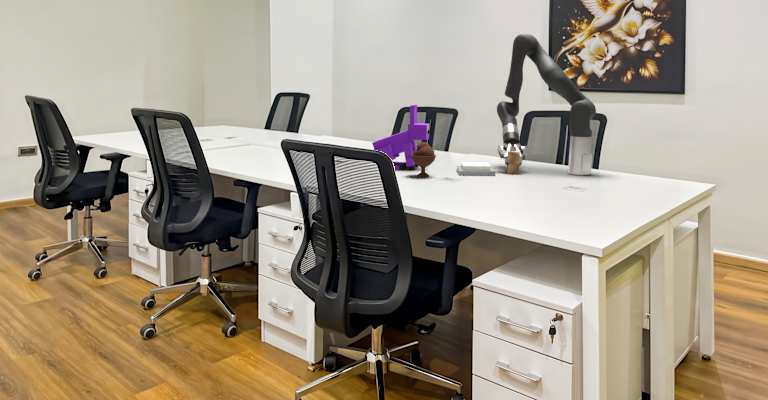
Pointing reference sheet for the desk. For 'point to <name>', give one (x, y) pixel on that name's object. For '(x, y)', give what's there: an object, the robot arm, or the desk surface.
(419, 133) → the toy
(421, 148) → the ice cream bowl
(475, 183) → the desk surface
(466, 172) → the plinth
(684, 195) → the desk surface
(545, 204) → the desk surface
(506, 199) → the desk surface
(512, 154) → the brown mottled cylinder
